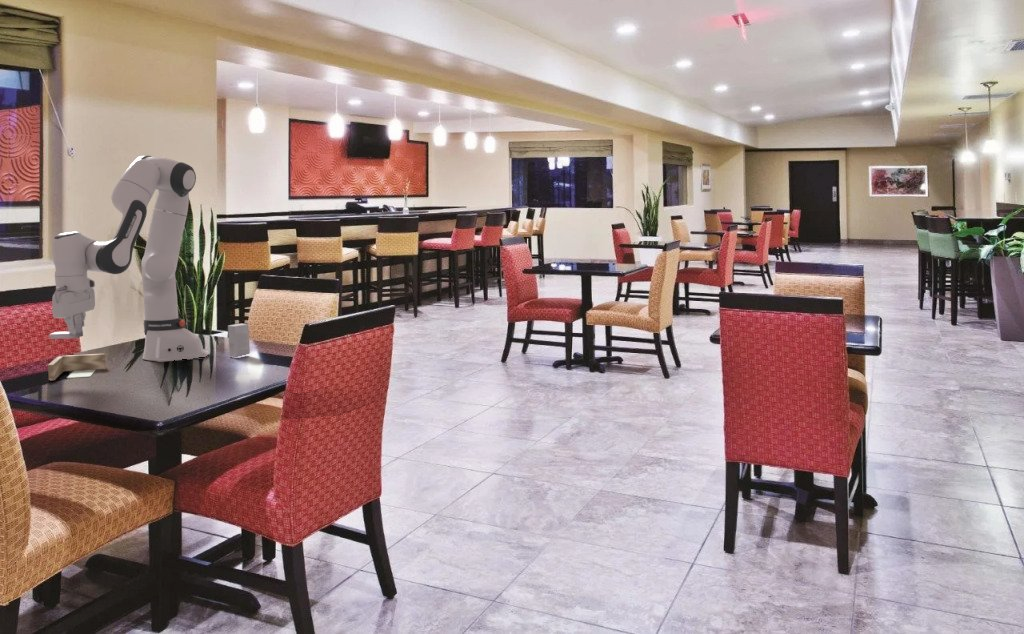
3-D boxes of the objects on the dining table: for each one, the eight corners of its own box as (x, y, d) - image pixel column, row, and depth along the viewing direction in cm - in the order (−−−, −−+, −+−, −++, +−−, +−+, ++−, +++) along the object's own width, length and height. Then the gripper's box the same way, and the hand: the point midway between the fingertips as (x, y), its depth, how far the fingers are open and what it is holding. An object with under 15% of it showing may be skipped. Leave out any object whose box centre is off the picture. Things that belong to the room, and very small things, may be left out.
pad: (95, 370, 267) (95, 369, 267) (90, 376, 256) (90, 376, 256) (73, 371, 264) (73, 370, 264) (67, 378, 254) (66, 377, 254)
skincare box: (242, 355, 294) (241, 323, 292) (250, 356, 291) (248, 324, 290) (228, 357, 289) (227, 325, 287) (236, 359, 286) (234, 326, 285)
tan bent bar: (106, 368, 270) (105, 353, 270) (98, 377, 255) (97, 362, 255) (59, 370, 266) (58, 355, 265) (48, 380, 251) (47, 365, 250)
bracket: (83, 335, 252) (80, 313, 250) (76, 338, 247) (74, 315, 246) (56, 336, 251) (54, 314, 250) (49, 338, 247) (47, 316, 246)
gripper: (65, 288, 237) (70, 333, 239) (97, 280, 257) (101, 323, 259) (44, 288, 236) (48, 334, 238) (77, 281, 257) (81, 323, 259)
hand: (76, 328), depth 249 cm, fingers closed on bracket, 4 cm apart
